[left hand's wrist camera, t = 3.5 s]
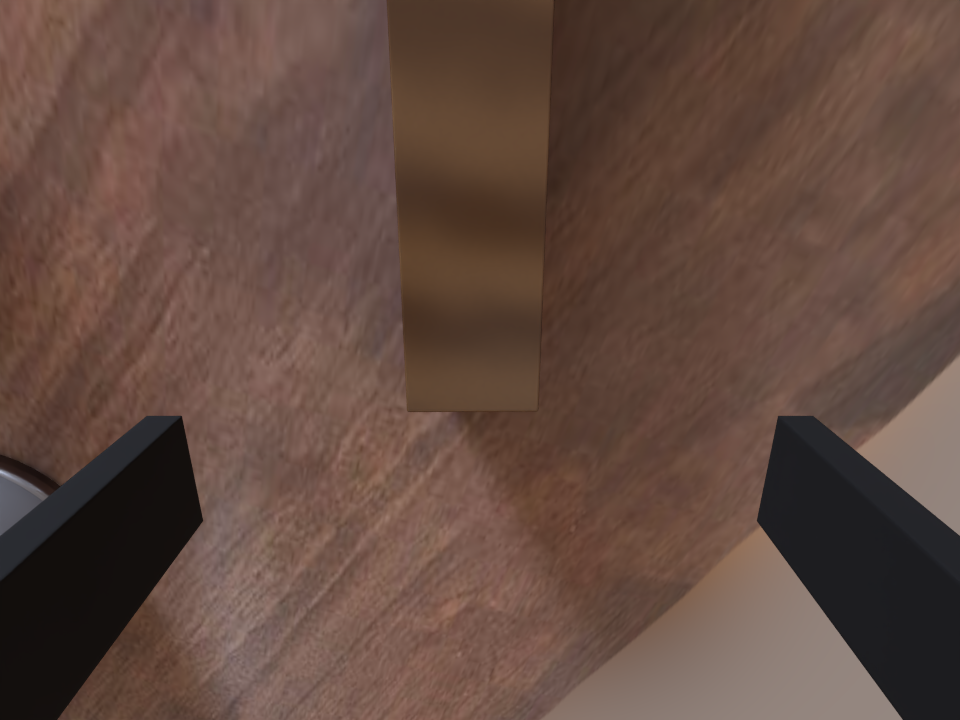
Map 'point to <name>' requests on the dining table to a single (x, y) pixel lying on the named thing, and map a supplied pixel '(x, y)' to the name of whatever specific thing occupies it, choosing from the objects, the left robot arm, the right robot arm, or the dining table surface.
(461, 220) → the bar
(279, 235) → the dining table surface
